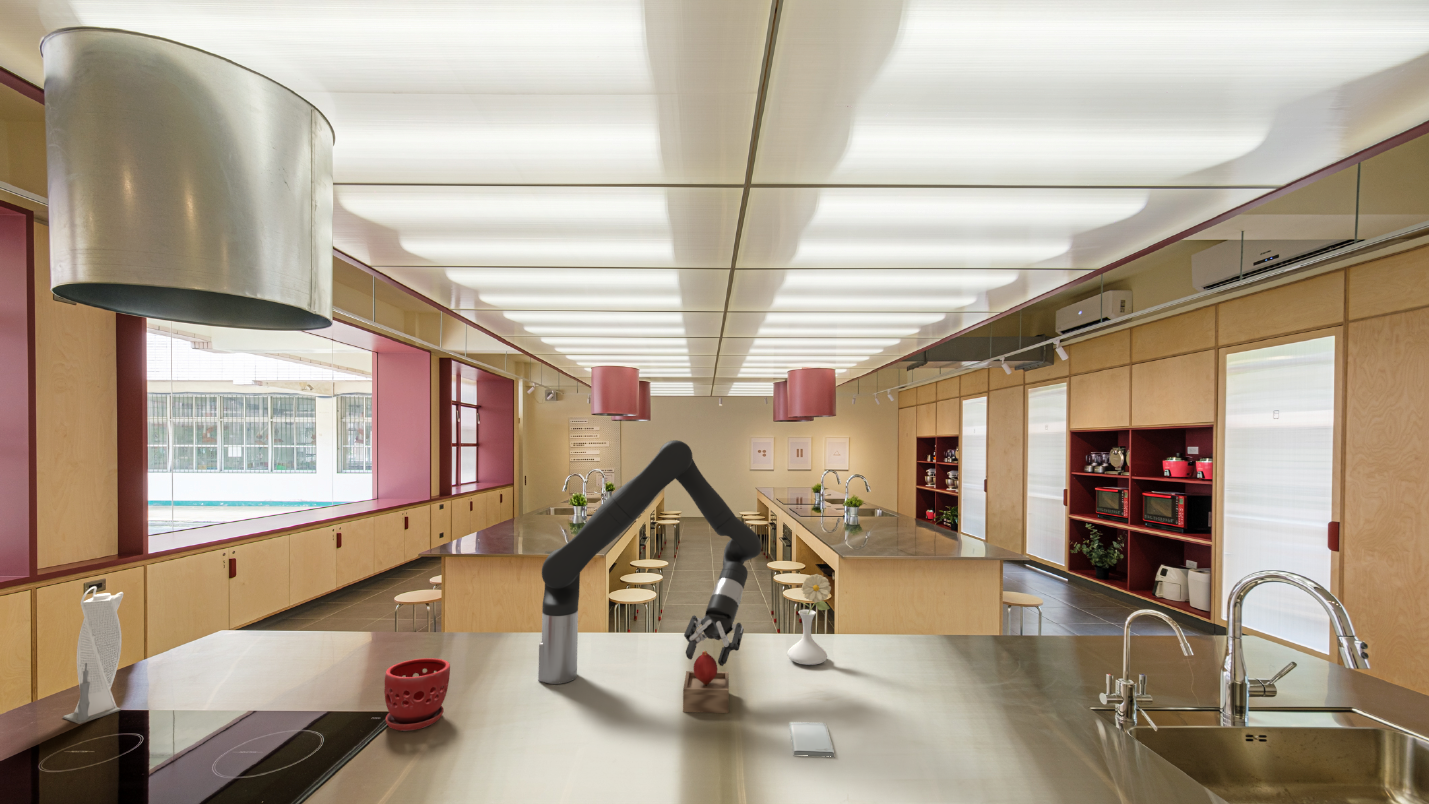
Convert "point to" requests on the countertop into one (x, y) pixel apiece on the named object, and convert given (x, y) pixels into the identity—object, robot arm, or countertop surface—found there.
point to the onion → (705, 668)
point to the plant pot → (415, 693)
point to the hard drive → (810, 739)
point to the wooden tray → (706, 694)
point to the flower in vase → (807, 648)
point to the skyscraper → (97, 656)
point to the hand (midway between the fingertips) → (704, 661)
